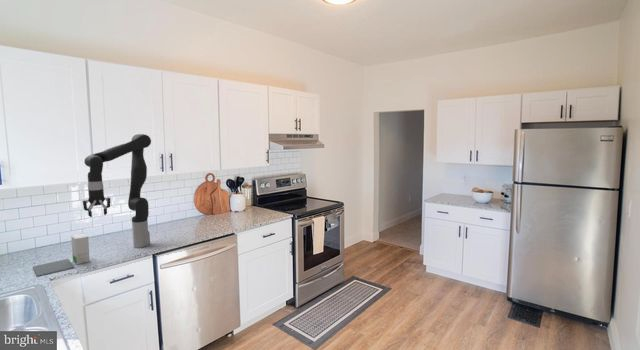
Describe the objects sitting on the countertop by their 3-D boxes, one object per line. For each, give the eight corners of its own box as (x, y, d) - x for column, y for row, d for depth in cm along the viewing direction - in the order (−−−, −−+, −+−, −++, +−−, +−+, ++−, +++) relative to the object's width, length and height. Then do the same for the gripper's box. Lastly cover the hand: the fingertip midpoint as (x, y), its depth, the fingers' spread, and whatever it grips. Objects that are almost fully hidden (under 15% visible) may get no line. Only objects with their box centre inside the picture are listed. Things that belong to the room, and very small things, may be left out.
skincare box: (72, 261, 192) (70, 235, 190) (85, 258, 197) (83, 233, 196) (77, 264, 187) (74, 238, 185) (90, 261, 192) (88, 235, 190)
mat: (68, 259, 195) (68, 258, 195) (74, 267, 183) (74, 266, 182) (33, 267, 183) (32, 266, 183) (37, 276, 171) (37, 275, 171)
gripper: (108, 186, 202) (110, 212, 204) (79, 189, 192) (82, 216, 194) (111, 188, 197) (113, 214, 199) (82, 190, 187) (85, 219, 189)
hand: (97, 215), depth 196 cm, fingers open, 6 cm apart
